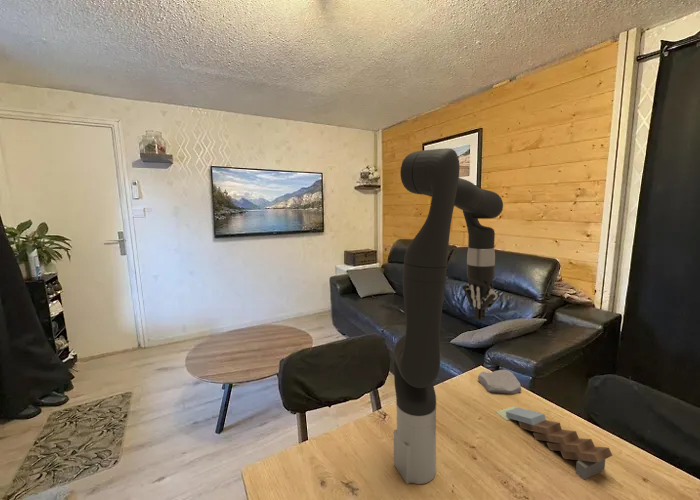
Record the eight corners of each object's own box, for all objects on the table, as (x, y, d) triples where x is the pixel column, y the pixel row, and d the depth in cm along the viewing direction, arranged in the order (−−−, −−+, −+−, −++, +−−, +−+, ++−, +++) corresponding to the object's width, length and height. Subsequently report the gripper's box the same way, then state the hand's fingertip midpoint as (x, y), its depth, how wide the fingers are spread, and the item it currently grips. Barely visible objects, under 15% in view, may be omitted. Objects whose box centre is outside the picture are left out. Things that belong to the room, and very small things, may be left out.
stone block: (524, 398, 105) (507, 377, 115) (526, 386, 104) (509, 366, 113) (489, 401, 105) (476, 380, 114) (491, 390, 103) (477, 369, 113)
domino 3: (535, 439, 85) (564, 444, 77) (532, 432, 85) (562, 436, 77) (548, 433, 86) (578, 438, 79) (546, 427, 87) (575, 431, 79)
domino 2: (520, 428, 89) (548, 434, 81) (518, 421, 89) (546, 428, 81) (533, 423, 91) (561, 429, 83) (531, 417, 91) (559, 422, 83)
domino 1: (507, 417, 93) (532, 425, 85) (505, 411, 94) (531, 418, 85) (519, 413, 95) (545, 420, 87) (518, 407, 95) (544, 413, 87)
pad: (506, 420, 92) (506, 420, 92) (496, 412, 96) (496, 412, 96) (524, 414, 95) (524, 413, 95) (513, 406, 98) (513, 406, 98)
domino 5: (563, 458, 77) (598, 462, 70) (560, 451, 78) (594, 454, 70) (577, 452, 79) (612, 455, 72) (574, 444, 80) (608, 447, 72)
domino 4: (549, 449, 81) (580, 453, 73) (546, 442, 82) (577, 445, 74) (563, 444, 83) (595, 446, 75) (560, 437, 83) (591, 439, 76)
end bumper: (584, 479, 72) (585, 468, 72) (575, 473, 74) (576, 461, 73) (604, 469, 74) (605, 458, 74) (595, 463, 76) (596, 452, 76)
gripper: (509, 265, 87) (506, 324, 89) (474, 258, 99) (473, 311, 102) (488, 268, 84) (486, 329, 87) (455, 260, 97) (454, 314, 99)
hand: (479, 319), depth 94 cm, fingers closed
